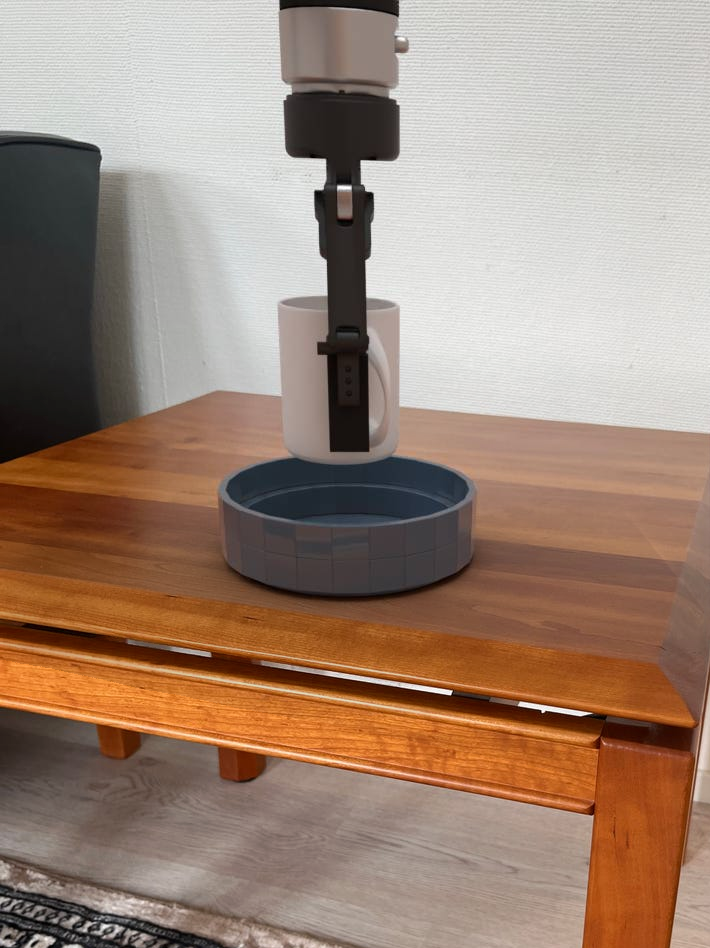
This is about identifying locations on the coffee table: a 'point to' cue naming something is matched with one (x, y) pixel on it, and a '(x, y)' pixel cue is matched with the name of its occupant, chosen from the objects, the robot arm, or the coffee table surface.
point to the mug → (309, 380)
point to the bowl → (347, 524)
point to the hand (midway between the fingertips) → (348, 431)
